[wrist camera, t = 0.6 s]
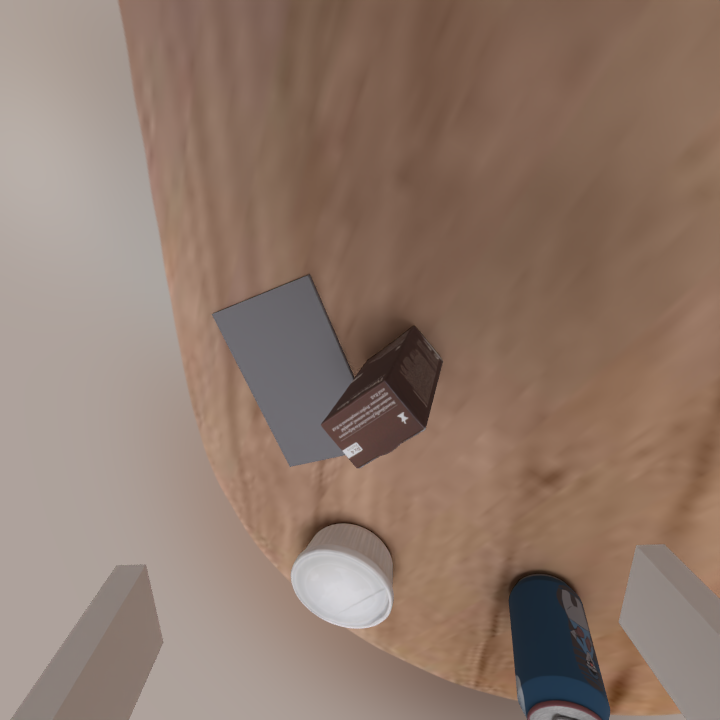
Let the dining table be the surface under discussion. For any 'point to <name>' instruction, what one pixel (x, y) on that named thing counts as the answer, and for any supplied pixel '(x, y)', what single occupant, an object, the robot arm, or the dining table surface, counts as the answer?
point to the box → (386, 400)
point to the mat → (290, 365)
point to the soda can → (554, 653)
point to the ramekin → (345, 576)
